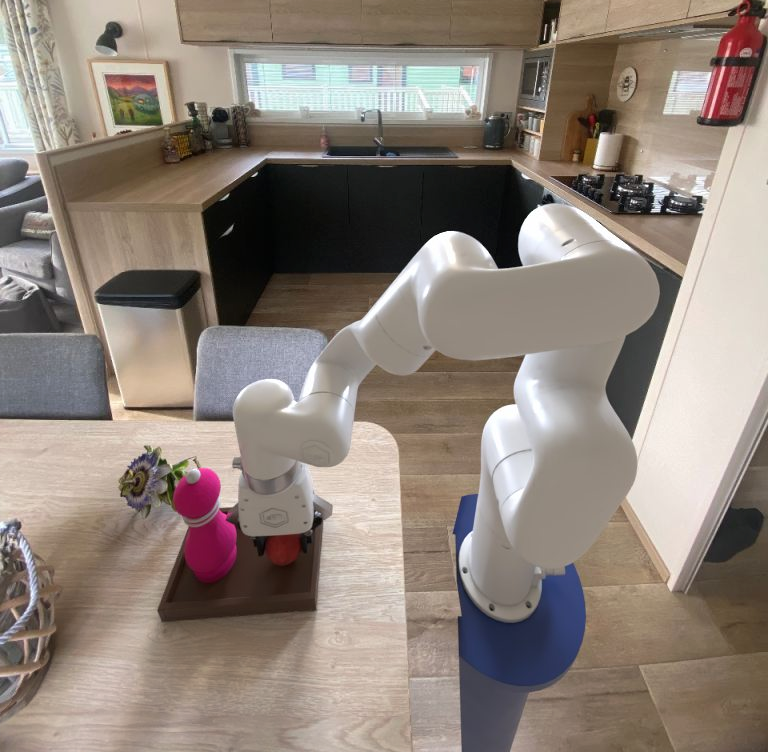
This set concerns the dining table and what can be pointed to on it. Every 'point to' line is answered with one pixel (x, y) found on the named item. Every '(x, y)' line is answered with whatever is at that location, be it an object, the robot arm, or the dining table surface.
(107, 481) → the dining table surface
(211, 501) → the pepper mill
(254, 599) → the tray
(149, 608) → the dining table surface
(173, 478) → the passion flower
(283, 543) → the onion
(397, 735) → the dining table surface
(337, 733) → the dining table surface
